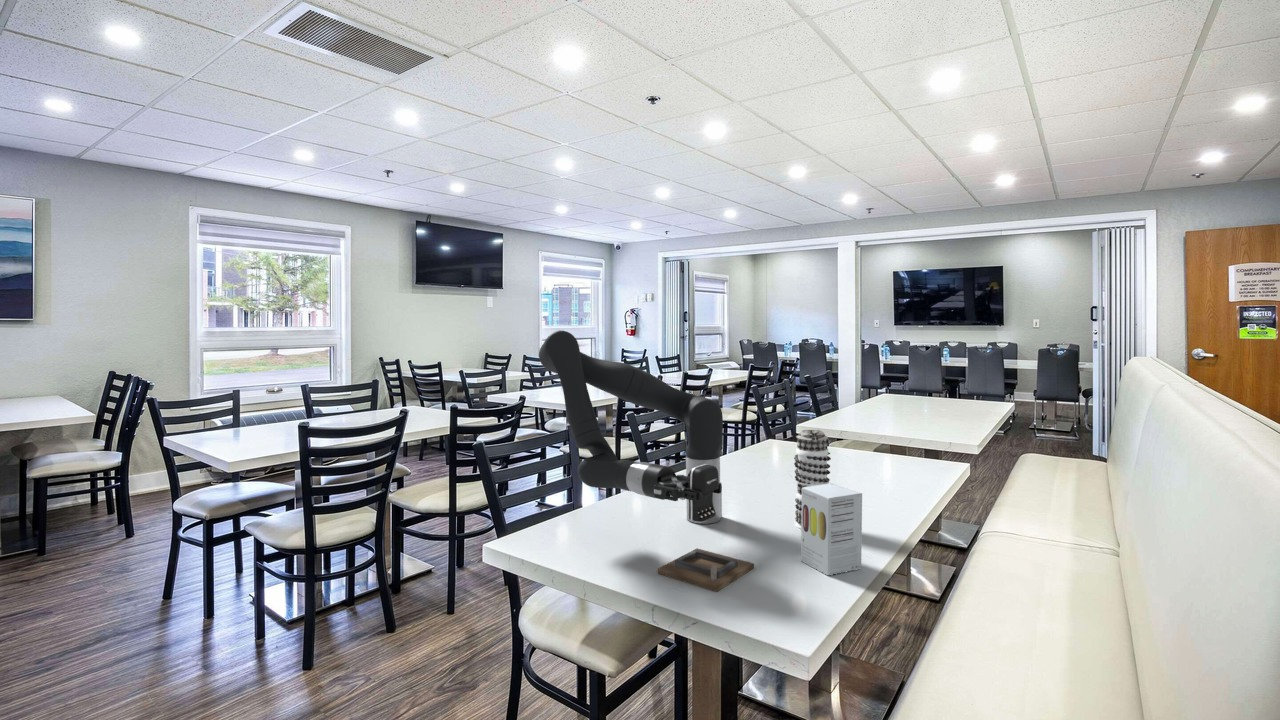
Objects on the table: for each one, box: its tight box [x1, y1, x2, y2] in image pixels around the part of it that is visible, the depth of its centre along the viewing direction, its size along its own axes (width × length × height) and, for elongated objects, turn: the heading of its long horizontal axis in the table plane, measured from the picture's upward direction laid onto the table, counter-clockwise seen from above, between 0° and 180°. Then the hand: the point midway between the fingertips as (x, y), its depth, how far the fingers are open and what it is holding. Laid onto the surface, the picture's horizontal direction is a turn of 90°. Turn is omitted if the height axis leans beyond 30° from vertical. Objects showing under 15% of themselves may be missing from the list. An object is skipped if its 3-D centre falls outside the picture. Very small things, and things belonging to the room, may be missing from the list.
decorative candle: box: [793, 429, 832, 530], centre depth 159 cm, size 9×9×25 cm
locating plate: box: [656, 548, 755, 593], centre depth 132 cm, size 15×15×4 cm
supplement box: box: [800, 482, 863, 576], centre depth 134 cm, size 10×9×17 cm
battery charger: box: [689, 464, 719, 522], centre depth 131 cm, size 7×4×11 cm, turn 138°
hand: (711, 492), depth 130 cm, fingers closed on battery charger, 7 cm apart
